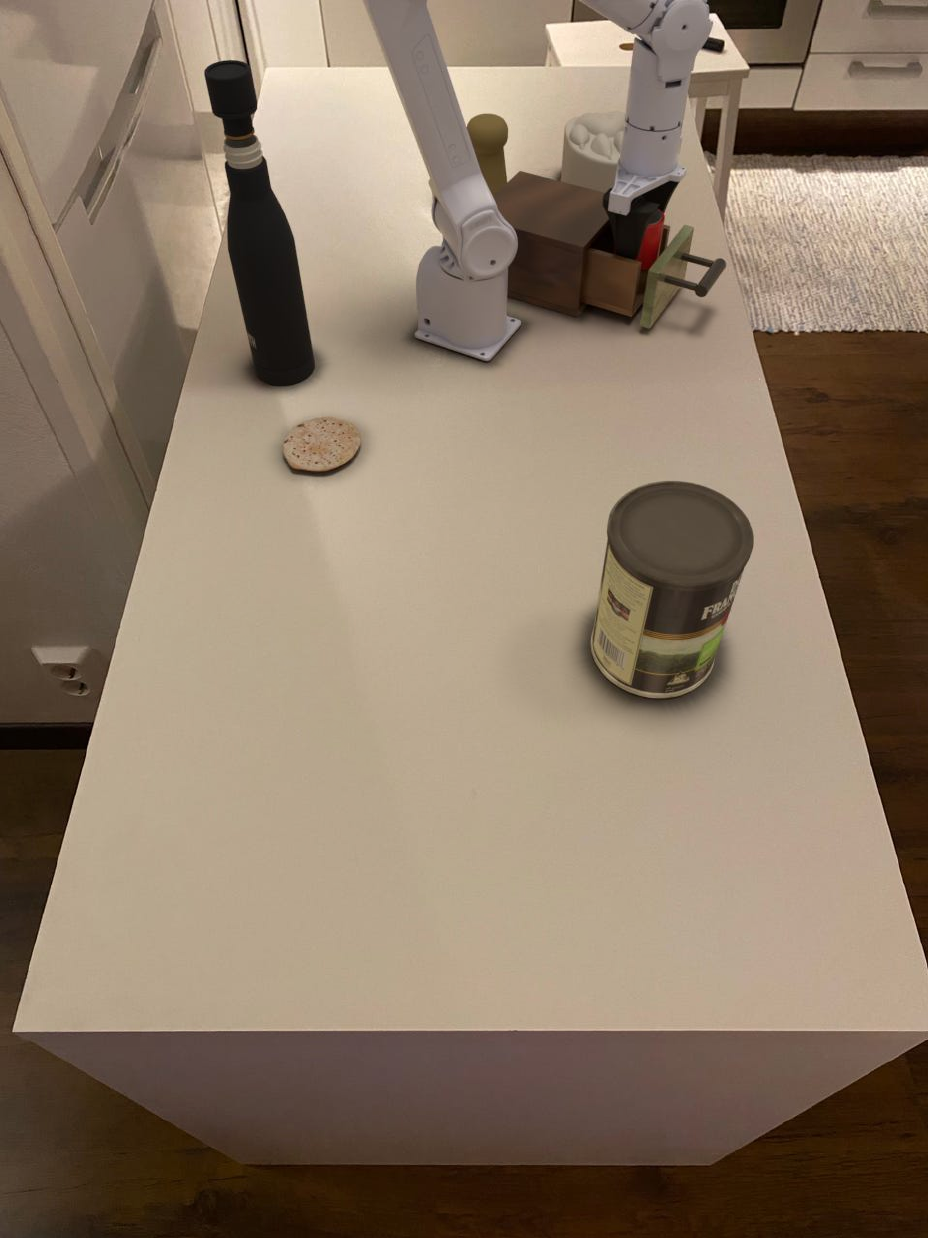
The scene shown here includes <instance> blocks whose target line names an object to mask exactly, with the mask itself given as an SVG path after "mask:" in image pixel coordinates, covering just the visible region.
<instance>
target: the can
mask: <svg viewBox="0 0 928 1238" xmlns="http://www.w3.org/2000/svg"><path fill="white" fill-rule="evenodd" d="M665 221H666V215H665V213H663V212H662V211H661V210H660V209H658V208H657V209H656V211H655V212H654V214H653V215H652V217H651V219H650V221H649V223H648V225H647V228H646V231H645V234H644V237H643V241H642V244H641V248H640V251H639V254H638V256H637V258H636V261H639V262H642V263H641V270H640V271H642V270H647V269H650V268H651V267H652V265H653V264H654V263H655V261H656V260H657V259H658V258H659V251H660V245H661V239H662V233H663V227H664V225H665ZM613 254H614V255H616V252H615V245H614V250H613Z"/></svg>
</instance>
